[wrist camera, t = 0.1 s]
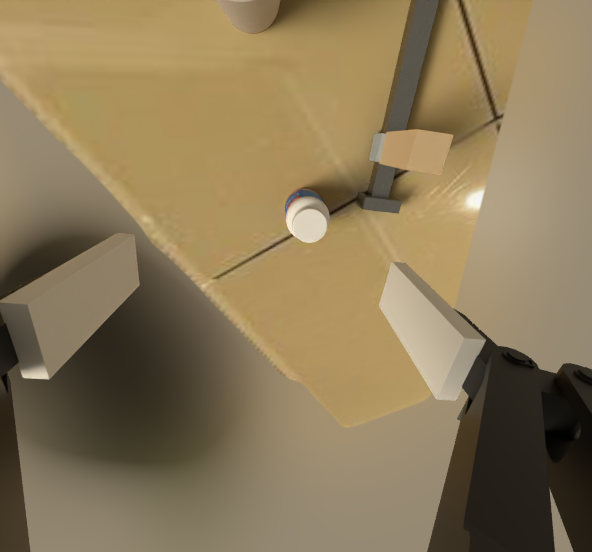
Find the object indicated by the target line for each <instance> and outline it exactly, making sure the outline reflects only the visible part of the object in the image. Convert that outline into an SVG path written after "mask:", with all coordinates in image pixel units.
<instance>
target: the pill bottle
mask: <svg viewBox="0 0 592 552" xmlns="http://www.w3.org/2000/svg"><path fill="white" fill-rule="evenodd" d="M285 213H286V223H287V227H288V229H289V231H290V232H291V233H292V234H293V235H294V236H295V237H297V238H298V239H299V240H301V241H303V242H307V243H311V242H316V241H318V240H319V239H321V238H322V237H323V236H324V234H325V233H326V230H327V228H328V225H329V221H330V216H329V211H328V209H327V207H326V205H325V204H324V202H323V201H322V199H321V198H320V196H319V195H318V194H317V193H316V192H315V191H313V190H311V189H306V188H303V189H298V190H296V191H294V192H293V193H292V194H291V195H290V196H289V197H288V199H287V201H286V205H285Z"/></svg>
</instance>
